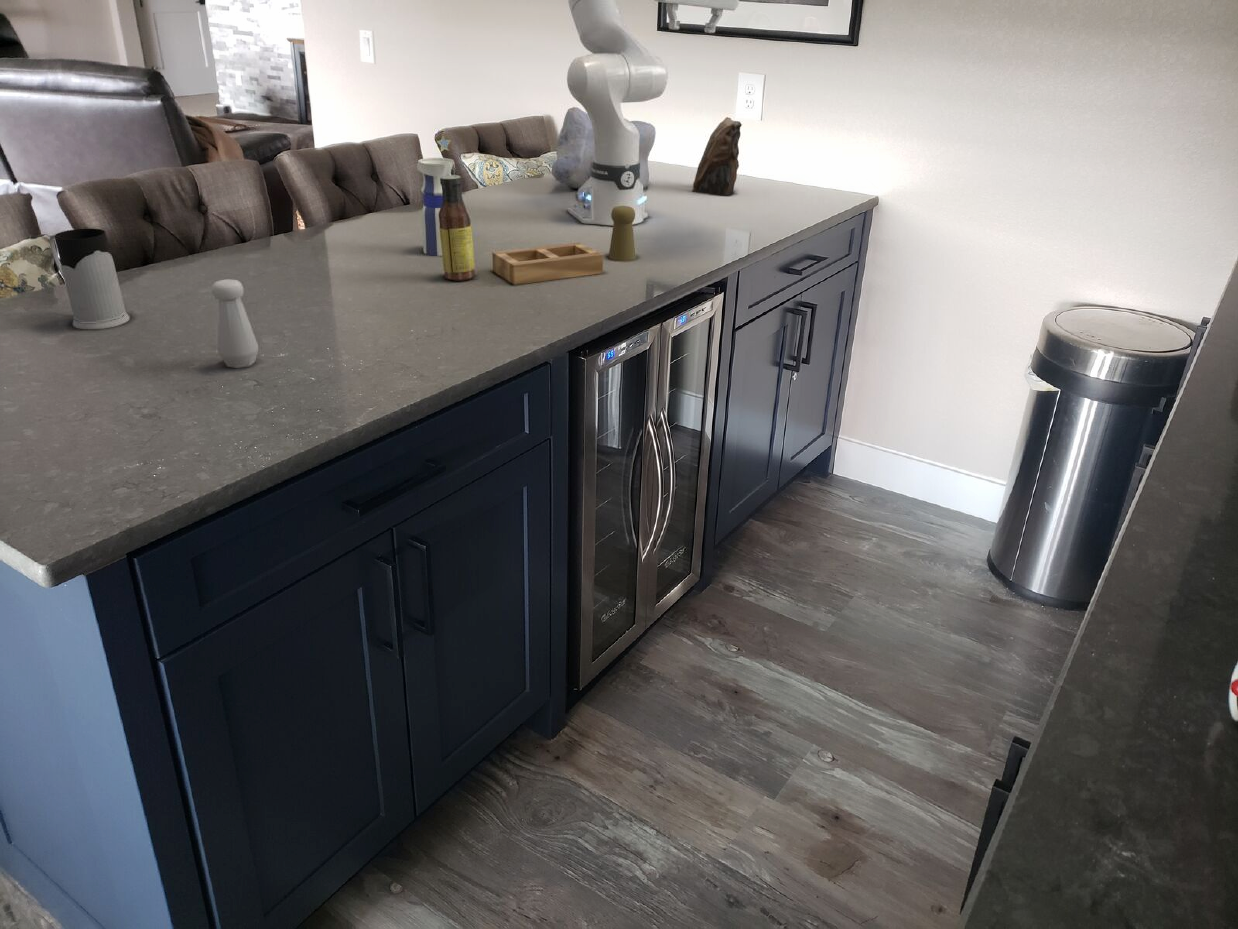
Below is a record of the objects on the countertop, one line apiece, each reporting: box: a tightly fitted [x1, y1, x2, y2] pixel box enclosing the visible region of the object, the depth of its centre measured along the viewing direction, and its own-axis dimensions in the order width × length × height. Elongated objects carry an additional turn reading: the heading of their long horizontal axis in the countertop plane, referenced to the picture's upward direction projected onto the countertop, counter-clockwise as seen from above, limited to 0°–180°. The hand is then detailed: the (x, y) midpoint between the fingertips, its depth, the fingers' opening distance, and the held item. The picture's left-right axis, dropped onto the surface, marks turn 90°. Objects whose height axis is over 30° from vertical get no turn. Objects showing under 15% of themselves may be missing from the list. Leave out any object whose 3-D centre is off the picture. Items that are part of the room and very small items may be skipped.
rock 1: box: [551, 106, 657, 189], centre depth 268 cm, size 23×30×27 cm
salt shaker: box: [211, 278, 259, 369], centre depth 141 cm, size 6×6×13 cm
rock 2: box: [691, 116, 743, 197], centre depth 267 cm, size 13×13×20 cm
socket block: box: [491, 242, 604, 286], centre depth 192 cm, size 11×20×4 cm, turn 119°
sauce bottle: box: [439, 174, 476, 282], centre depth 183 cm, size 7×6×20 cm
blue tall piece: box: [416, 135, 456, 257], centre depth 200 cm, size 8×9×25 cm
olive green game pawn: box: [608, 206, 637, 262], centre depth 202 cm, size 6×6×11 cm
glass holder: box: [49, 228, 131, 330], centre depth 157 cm, size 9×14×15 cm, turn 58°
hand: (691, 30), depth 190 cm, fingers open, 8 cm apart
